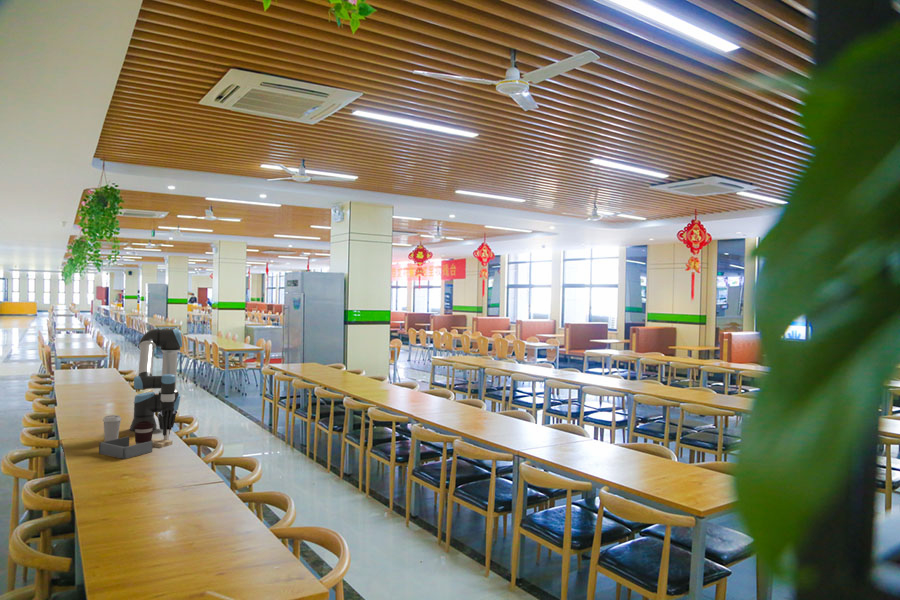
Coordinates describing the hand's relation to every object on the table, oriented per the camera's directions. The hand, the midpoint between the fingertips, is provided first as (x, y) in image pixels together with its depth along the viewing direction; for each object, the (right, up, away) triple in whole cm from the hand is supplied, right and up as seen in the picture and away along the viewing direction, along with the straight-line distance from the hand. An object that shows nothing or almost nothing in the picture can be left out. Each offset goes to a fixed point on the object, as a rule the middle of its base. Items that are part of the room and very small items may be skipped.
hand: (166, 440), depth 340 cm
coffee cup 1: (-31, 0, -2) cm, 31 cm away
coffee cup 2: (-6, -1, -14) cm, 15 cm away
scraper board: (-2, -2, -4) cm, 5 cm away
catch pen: (-11, -1, -23) cm, 26 cm away
